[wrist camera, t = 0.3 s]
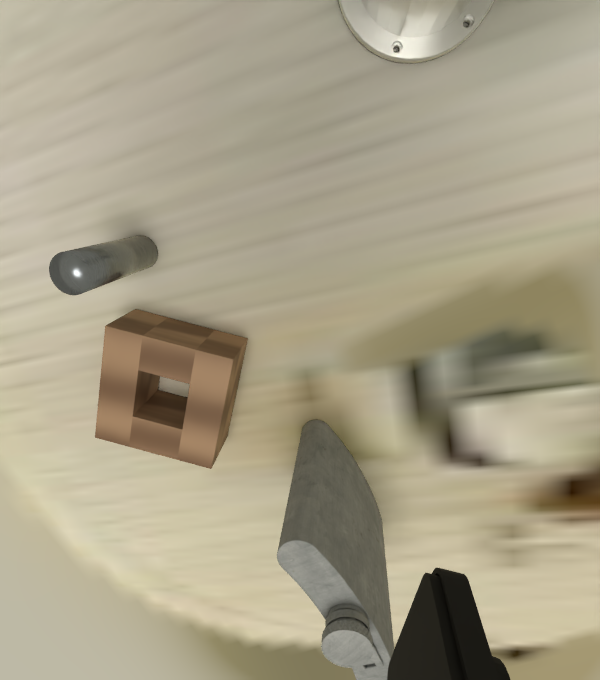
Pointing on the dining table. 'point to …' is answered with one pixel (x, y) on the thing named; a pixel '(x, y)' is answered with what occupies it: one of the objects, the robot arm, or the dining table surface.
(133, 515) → the dining table surface
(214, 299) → the dining table surface
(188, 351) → the wooden square hole block
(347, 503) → the hip flask
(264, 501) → the dining table surface
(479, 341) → the dining table surface
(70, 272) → the grey metal rod
